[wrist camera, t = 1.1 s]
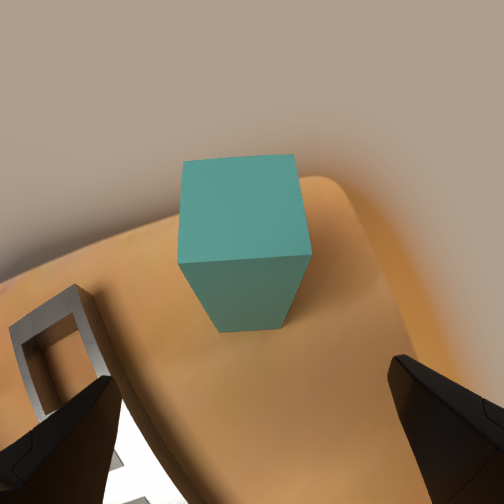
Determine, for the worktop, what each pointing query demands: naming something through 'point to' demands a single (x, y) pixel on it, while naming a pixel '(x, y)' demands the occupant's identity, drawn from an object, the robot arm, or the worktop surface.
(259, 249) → the teal peg
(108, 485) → the grey peg board
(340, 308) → the worktop surface
